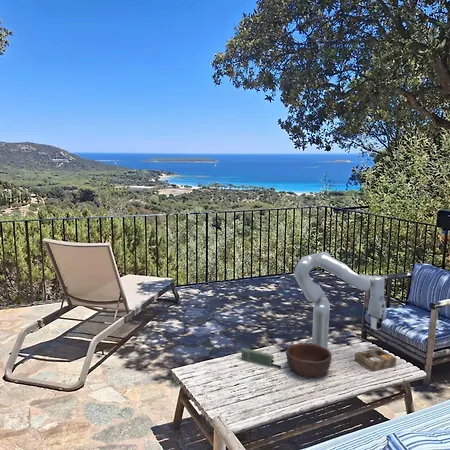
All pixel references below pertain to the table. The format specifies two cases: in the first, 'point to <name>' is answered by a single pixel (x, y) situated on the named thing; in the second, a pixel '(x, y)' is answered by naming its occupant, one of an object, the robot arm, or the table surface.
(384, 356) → the socket block
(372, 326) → the plug
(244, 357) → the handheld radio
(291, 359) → the wooden bowl
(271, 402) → the table surface
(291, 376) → the table surface
